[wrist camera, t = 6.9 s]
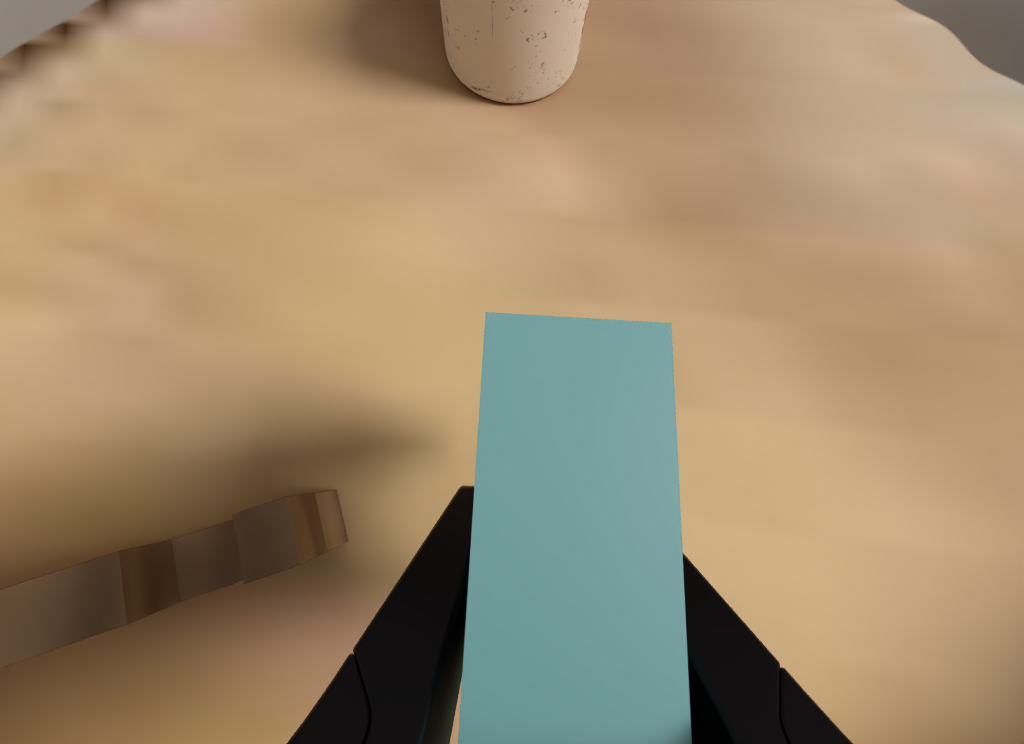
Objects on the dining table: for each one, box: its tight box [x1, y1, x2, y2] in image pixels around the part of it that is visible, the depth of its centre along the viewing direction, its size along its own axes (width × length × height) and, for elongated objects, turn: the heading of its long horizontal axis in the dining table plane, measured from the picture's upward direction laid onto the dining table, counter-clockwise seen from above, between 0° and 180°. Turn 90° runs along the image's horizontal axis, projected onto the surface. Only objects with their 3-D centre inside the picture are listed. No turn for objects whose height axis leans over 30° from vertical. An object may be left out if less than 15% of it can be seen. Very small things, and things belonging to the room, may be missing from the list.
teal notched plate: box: [458, 312, 692, 744], centre depth 9 cm, size 8×2×10 cm, turn 177°
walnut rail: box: [0, 490, 348, 668], centre depth 17 cm, size 20×2×5 cm, turn 108°
